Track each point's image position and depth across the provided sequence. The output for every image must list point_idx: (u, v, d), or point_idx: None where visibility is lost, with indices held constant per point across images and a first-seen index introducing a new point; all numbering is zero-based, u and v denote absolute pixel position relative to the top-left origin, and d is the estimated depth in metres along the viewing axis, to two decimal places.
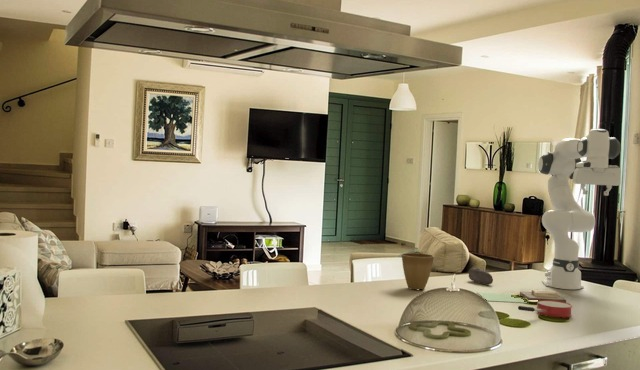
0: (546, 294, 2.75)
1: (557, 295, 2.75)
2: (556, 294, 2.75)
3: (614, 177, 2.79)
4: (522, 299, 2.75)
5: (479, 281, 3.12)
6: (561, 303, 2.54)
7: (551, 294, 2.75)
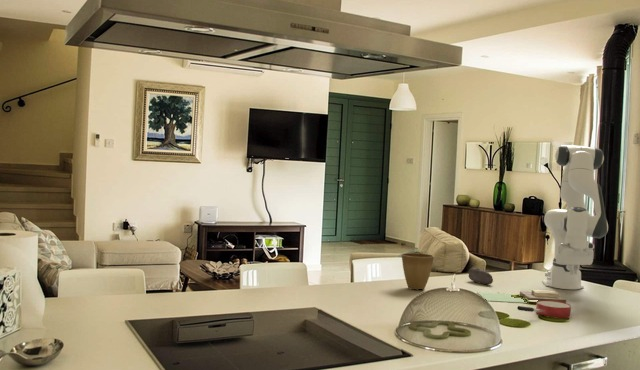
0: (546, 294, 2.75)
1: (557, 295, 2.75)
2: (556, 294, 2.75)
3: None
4: (522, 299, 2.75)
5: (479, 281, 3.12)
6: (560, 303, 2.53)
7: (551, 294, 2.75)
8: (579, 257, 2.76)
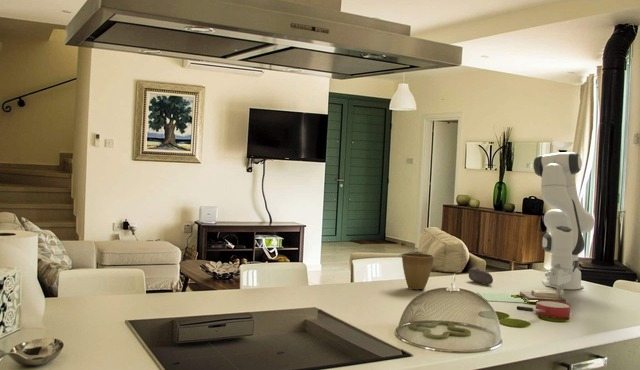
0: (546, 294, 2.75)
1: (557, 295, 2.75)
2: (556, 294, 2.75)
3: None
4: (522, 299, 2.75)
5: (479, 281, 3.12)
6: (560, 303, 2.53)
7: (551, 294, 2.75)
8: (565, 276, 2.77)
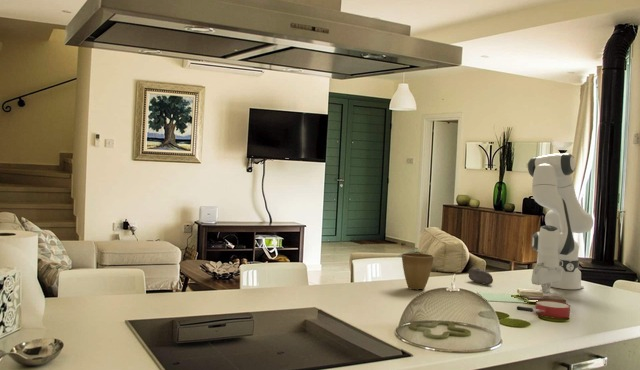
0: (530, 293, 2.76)
1: (542, 294, 2.75)
2: (541, 293, 2.75)
3: None
4: (522, 299, 2.75)
5: (479, 281, 3.12)
6: (559, 303, 2.53)
7: (535, 293, 2.76)
8: (551, 275, 2.77)
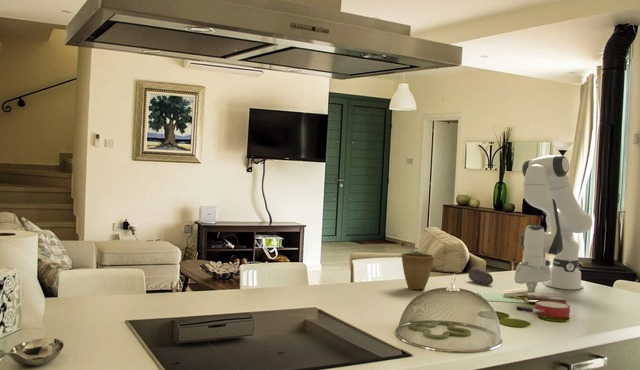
0: (515, 293, 2.77)
1: (526, 293, 2.76)
2: (525, 292, 2.76)
3: None
4: (522, 299, 2.75)
5: (479, 281, 3.12)
6: (559, 303, 2.53)
7: (520, 293, 2.77)
8: (537, 274, 2.77)
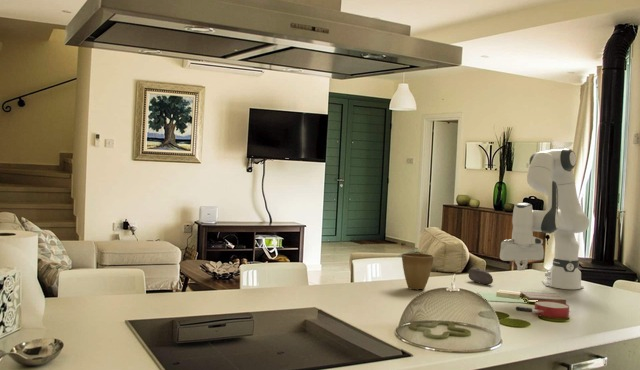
0: (507, 294, 2.79)
1: (518, 296, 2.77)
2: (517, 295, 2.77)
3: None
4: (522, 299, 2.75)
5: (479, 281, 3.12)
6: (558, 304, 2.52)
7: (512, 295, 2.78)
8: (526, 252, 2.76)
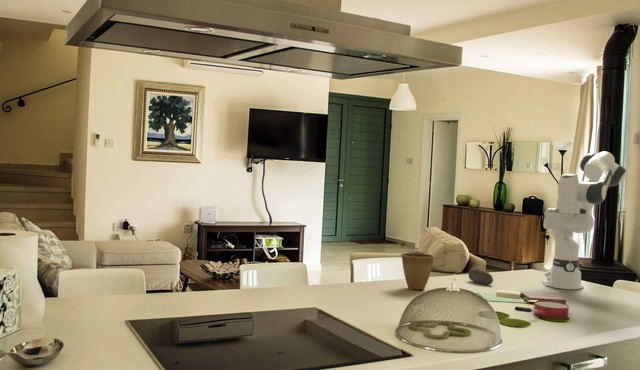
0: (507, 294, 2.79)
1: (518, 296, 2.77)
2: (517, 295, 2.77)
3: None
4: (522, 299, 2.75)
5: (479, 281, 3.12)
6: (558, 304, 2.52)
7: (512, 295, 2.78)
8: (570, 222, 2.81)
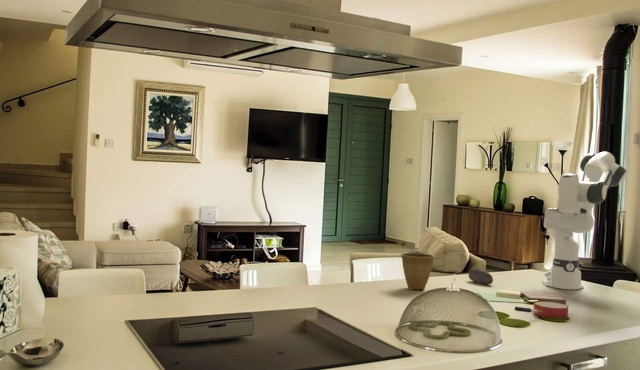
0: (507, 294, 2.79)
1: (518, 296, 2.77)
2: (517, 295, 2.77)
3: None
4: (522, 299, 2.75)
5: (479, 281, 3.12)
6: (558, 304, 2.52)
7: (512, 295, 2.78)
8: (570, 222, 2.81)
